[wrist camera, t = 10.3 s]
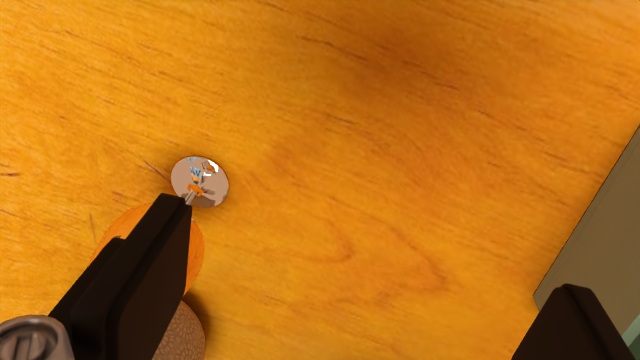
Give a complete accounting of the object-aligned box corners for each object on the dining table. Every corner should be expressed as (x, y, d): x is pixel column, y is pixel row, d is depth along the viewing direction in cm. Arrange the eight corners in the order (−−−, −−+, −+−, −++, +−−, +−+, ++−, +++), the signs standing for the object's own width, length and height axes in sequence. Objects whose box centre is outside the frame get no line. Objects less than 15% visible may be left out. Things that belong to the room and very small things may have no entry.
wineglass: (153, 195, 35) (63, 308, 25) (174, 134, 33) (83, 233, 22) (222, 225, 36) (163, 347, 26) (248, 168, 34) (194, 279, 23)
